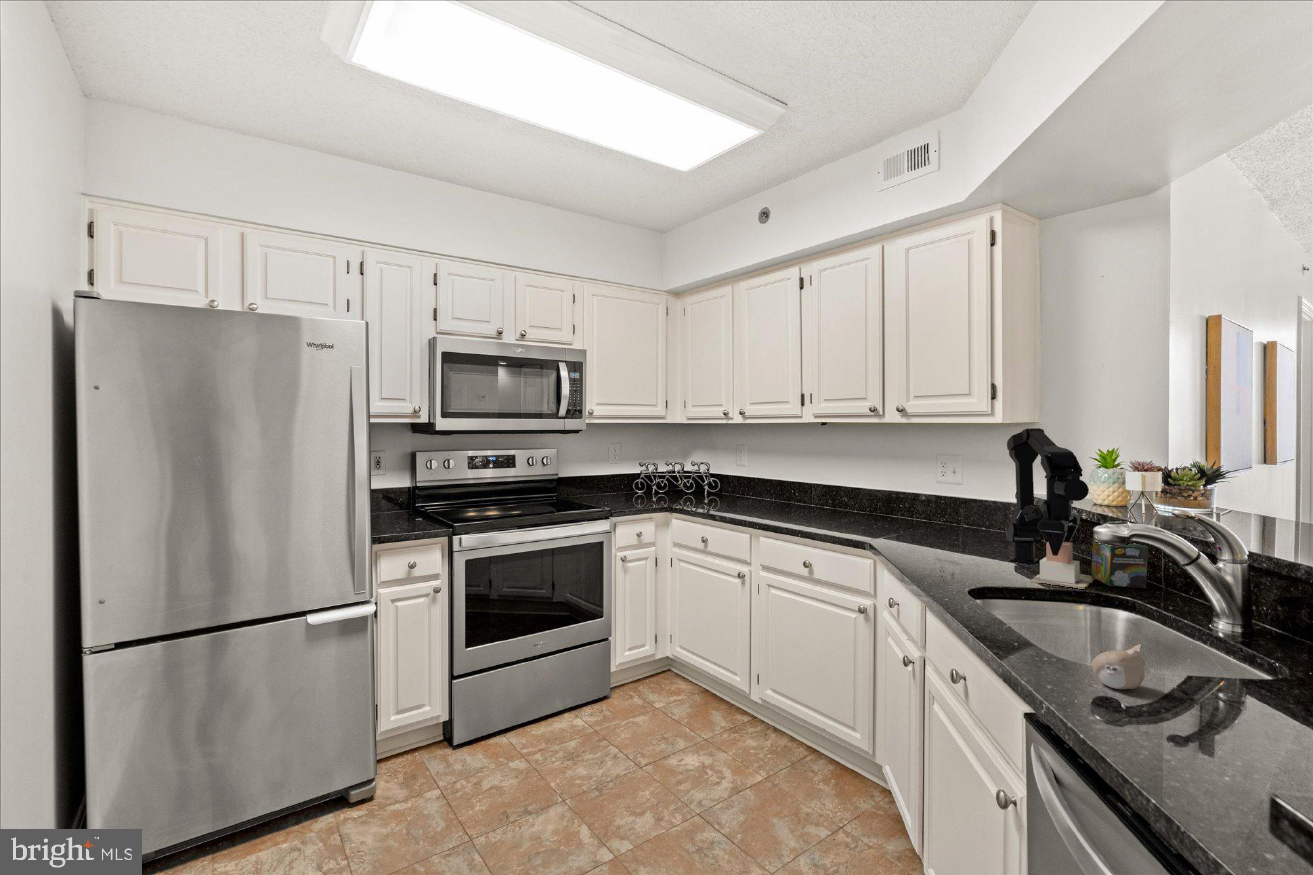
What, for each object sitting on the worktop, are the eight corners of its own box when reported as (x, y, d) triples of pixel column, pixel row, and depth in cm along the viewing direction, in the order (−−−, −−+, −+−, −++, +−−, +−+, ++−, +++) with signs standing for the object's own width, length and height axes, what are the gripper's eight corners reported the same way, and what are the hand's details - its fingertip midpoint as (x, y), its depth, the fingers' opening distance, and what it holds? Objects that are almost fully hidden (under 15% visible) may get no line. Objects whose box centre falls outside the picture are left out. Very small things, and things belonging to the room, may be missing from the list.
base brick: (1079, 579, 163) (1079, 561, 163) (1074, 583, 159) (1074, 564, 159) (1045, 574, 169) (1045, 556, 169) (1039, 578, 165) (1039, 560, 165)
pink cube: (1051, 557, 167) (1051, 540, 167) (1072, 560, 164) (1072, 542, 164) (1046, 561, 164) (1046, 542, 164) (1068, 563, 160) (1067, 545, 160)
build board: (1046, 571, 175) (1045, 569, 175) (1096, 578, 166) (1095, 575, 166) (1030, 582, 164) (1030, 579, 164) (1083, 590, 155) (1083, 587, 155)
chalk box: (1126, 579, 164) (1129, 525, 163) (1147, 589, 155) (1151, 532, 154) (1089, 576, 166) (1092, 524, 165) (1108, 586, 157) (1111, 531, 156)
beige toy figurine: (1122, 698, 95) (1122, 648, 95) (1084, 682, 101) (1083, 635, 101) (1153, 692, 97) (1152, 643, 97) (1113, 676, 103) (1113, 631, 103)
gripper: (1034, 491, 176) (1035, 544, 176) (1015, 497, 163) (1016, 554, 163) (1080, 494, 168) (1080, 549, 168) (1063, 500, 155) (1064, 560, 155)
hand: (1059, 552), depth 164 cm, fingers open, 9 cm apart
